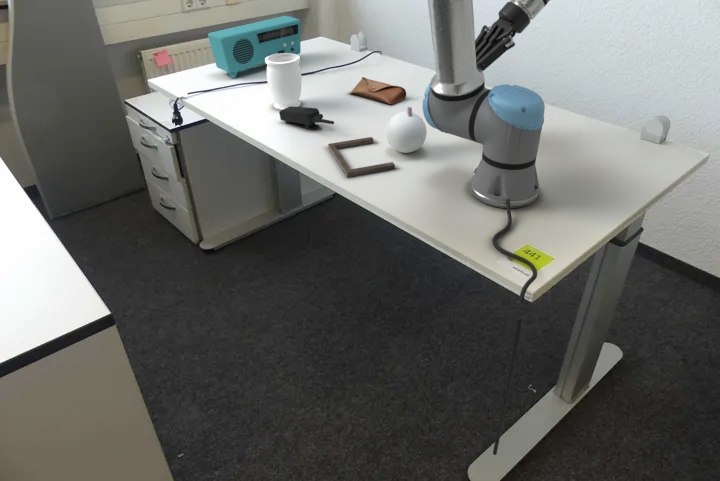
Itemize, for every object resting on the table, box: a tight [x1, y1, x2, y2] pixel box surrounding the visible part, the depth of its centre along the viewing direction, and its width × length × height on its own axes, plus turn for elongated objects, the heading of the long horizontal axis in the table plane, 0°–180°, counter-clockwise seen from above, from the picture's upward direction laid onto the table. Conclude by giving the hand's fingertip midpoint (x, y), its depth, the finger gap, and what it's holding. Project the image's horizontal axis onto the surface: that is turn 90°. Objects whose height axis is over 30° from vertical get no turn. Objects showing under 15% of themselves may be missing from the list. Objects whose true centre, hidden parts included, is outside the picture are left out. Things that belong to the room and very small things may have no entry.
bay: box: [327, 136, 396, 178], centre depth 141 cm, size 18×12×1 cm
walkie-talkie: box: [278, 106, 335, 130], centre depth 156 cm, size 6×6×20 cm
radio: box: [207, 15, 301, 79], centre depth 200 cm, size 34×10×15 cm, turn 132°
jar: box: [265, 53, 303, 111], centre depth 168 cm, size 11×10×15 cm
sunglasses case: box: [348, 76, 407, 105], centre depth 176 cm, size 18×7×7 cm, turn 52°
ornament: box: [385, 106, 428, 153], centre depth 141 cm, size 10×10×12 cm
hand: (453, 86), depth 138 cm, fingers closed
